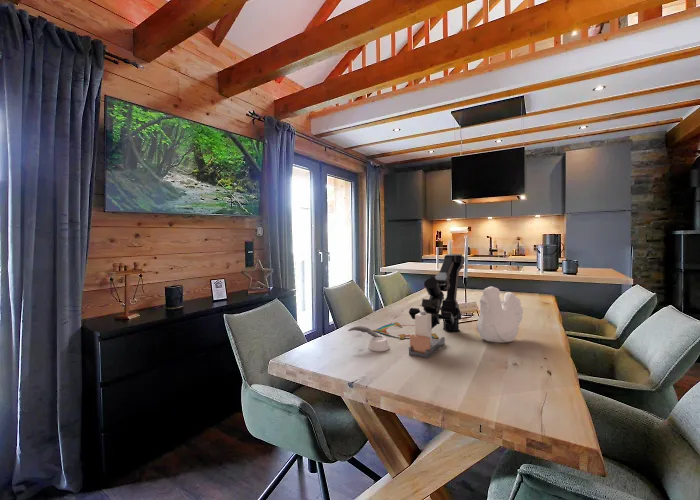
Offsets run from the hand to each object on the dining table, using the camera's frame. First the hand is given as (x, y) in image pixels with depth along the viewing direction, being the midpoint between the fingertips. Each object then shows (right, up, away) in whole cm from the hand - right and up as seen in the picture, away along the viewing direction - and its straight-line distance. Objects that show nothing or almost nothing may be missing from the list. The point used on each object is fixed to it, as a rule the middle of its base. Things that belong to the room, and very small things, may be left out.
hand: (425, 333), depth 136 cm
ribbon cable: (-5, -7, +30) cm, 31 cm away
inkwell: (-24, -8, +4) cm, 25 cm away
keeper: (-1, -6, -2) cm, 6 cm away
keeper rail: (+1, -7, +2) cm, 8 cm away
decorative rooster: (+38, -6, +11) cm, 40 cm away
